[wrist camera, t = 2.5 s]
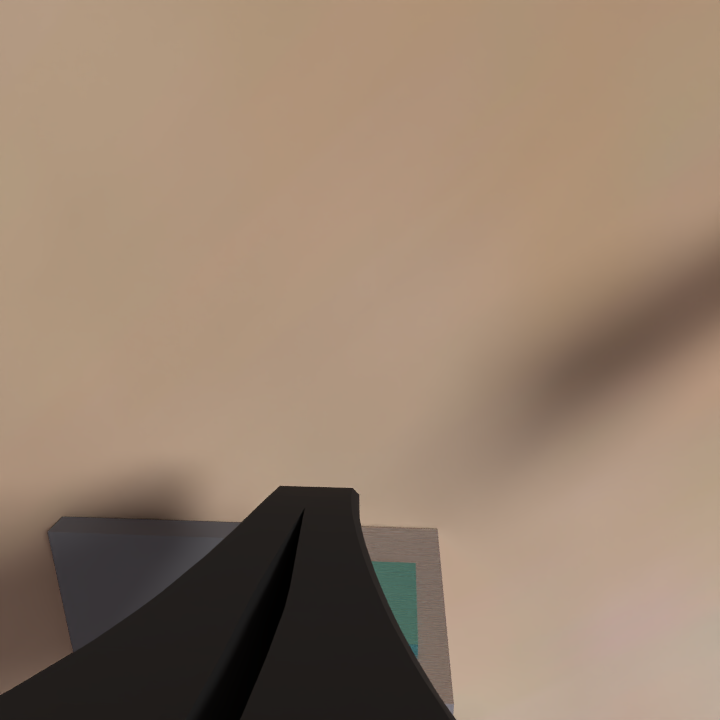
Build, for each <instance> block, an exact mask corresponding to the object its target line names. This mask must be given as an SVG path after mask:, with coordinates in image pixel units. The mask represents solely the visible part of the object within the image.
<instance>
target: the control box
mask: <svg viewBox="0 0 720 720" xmlns="http://www.w3.org/2000/svg"><path fill="white" fill-rule="evenodd" d="M361 528H362V532H363V536H364V540H365V543H366V547H367V550H368V553H369V555H370V558H371V561H372V564H373V567H374V570H375V573H376V575H377V578H378V580H379V583H380V585H381V588H382V590H383V592H384V595H385V597H386V599H387V601H388V604H389V606H390V608H391V610H392V612H393V614H394V617H395V619H396V621H397V623H398V625H399V627H400V629H401V631H402V633H403V634H404V636H405V638H406V640H407V642H408V644H409V645H410V647H411V649H412V651H413V653H414V654H415V656H416V658H417V660H418V662H419V663H420V665H421V667H422V668H423V670H424V671H425V673H426V675H427V676H428V678H429V680H430V681H431V683H432V685H433V686H434V688H435V690H436V691H437V693H438V694H439V696H440V697H441V699H442V700H443V702H444V703H445V705H446V706H447V707H448V709H449V710H450V712H451V713H452V715H453V709H454V702H453V691H452V680H451V669H450V659H449V648H448V637H447V627H446V616H445V605H444V594H443V584H442V573H441V562H440V551H439V541H438V530H437V529H419V528H389V527H361Z"/></svg>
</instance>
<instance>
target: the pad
mask: <svg viewBox="0 0 720 720" xmlns="http://www.w3.org/2000/svg"><path fill="white" fill-rule="evenodd" d="M239 524H240V523H238V522H208V521H178V520H148V519H118V518H88V517H62V518H61V519H60V520H59V521H58V522H57V523H56V524H55V525H54V526H53V527H52V528H51V529H50V530H49V531H48V536H49V541H50V546H51V550H52V555H53V560H54V564H55V569H56V574H57V578H58V583H59V588H60V592H61V597H62V602H63V606H64V611H65V616H66V620H67V625H68V630H69V634H70V639H71V644H72V648H73V652H75V651H77V650H78V649H80V648H82V647H83V646H85V645H86V644H88V643H89V642H91V641H93V640H94V639H96V638H97V637H99V636H100V635H102V634H103V633H105V632H106V631H107V630H109V629H110V628H112V627H113V626H115V625H116V624H118V623H119V622H121V621H122V620H124V619H125V618H127V617H128V616H129V615H131V614H132V613H134V612H135V611H136V610H138V609H139V608H141V607H142V606H143V605H145V604H146V603H147V602H149V601H150V600H151V599H153V598H154V597H155V596H157V595H158V594H159V593H161V592H162V591H163V590H164V589H166V588H167V587H168V586H169V585H170V584H172V583H173V582H174V581H175V580H177V579H178V578H179V577H180V576H181V575H183V574H184V573H185V572H186V571H187V570H189V569H190V568H191V567H192V566H194V565H195V564H196V563H197V562H198V561H200V560H201V559H202V558H203V557H204V556H205V555H207V554H208V553H209V552H210V551H211V550H212V549H213V548H214V547H215V546H216V545H218V544H219V543H220V542H221V541H222V540H223V539H224V538H225V537H226V536H227V535H229V534H230V533H231V532H232V531H233V530H234V529H235V528H236V527H237V526H238V525H239Z"/></svg>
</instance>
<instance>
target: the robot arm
mask: <svg viewBox="0 0 720 720" xmlns="http://www.w3.org/2000/svg"><path fill="white" fill-rule="evenodd" d="M0 720H456V719H455V717H454V716H453V715H452V713H451V712H450V710H449V709H448V707H447V706H446V705H445V703H444V702H443V700H442V699H441V697H440V696H439V694H438V693H437V691H436V690H435V688H434V686H433V685H432V683H431V681H430V680H429V678H428V676H427V675H426V673H425V671H424V670H423V668H422V667H421V665H420V663H419V662H418V660H417V658H416V656H415V654H414V653H413V651H412V649H411V647H410V645H409V644H408V642H407V640H406V638H405V636H404V634H403V633H402V631H401V629H400V627H399V625H398V623H397V621H396V619H395V617H394V614H393V612H392V610H391V608H390V606H389V604H388V601H387V599H386V597H385V595H384V592H383V590H382V588H381V585H380V583H379V580H378V578H377V575H376V573H375V570H374V567H373V564H372V561H371V558H370V555H369V553H368V550H367V547H366V543H365V540H364V536H363V532H362V528H361V524H360V518H359V494H358V493H357V492H356V491H355V490H354V489H353V488H332V487H297V486H279V487H278V488H277V489H276V490H275V491H274V492H273V493H272V494H271V495H269V496H268V497H267V498H266V499H265V500H264V501H263V502H262V503H261V504H260V505H259V506H258V507H257V508H256V509H255V510H254V511H253V512H252V513H251V514H250V515H249V516H248V517H246V518H245V519H244V520H243V521H242V522H241V523H240V524H239V525H238V526H237V527H236V528H235V529H234V530H233V531H232V532H231V533H230V534H229V535H227V536H226V537H225V538H224V539H223V540H222V541H221V542H220V543H219V544H218V545H216V546H215V547H214V548H213V549H212V550H211V551H210V552H209V553H208V554H207V555H205V556H204V557H203V558H202V559H201V560H200V561H198V562H197V563H196V564H195V565H194V566H192V567H191V568H190V569H189V570H187V571H186V572H185V573H184V574H183V575H181V576H180V577H179V578H178V579H177V580H175V581H174V582H173V583H172V584H170V585H169V586H168V587H167V588H166V589H164V590H163V591H162V592H161V593H159V594H158V595H157V596H155V597H154V598H153V599H151V600H150V601H149V602H147V603H146V604H145V605H143V606H142V607H141V608H139V609H138V610H136V611H135V612H134V613H132V614H131V615H129V616H128V617H127V618H125V619H124V620H122V621H121V622H119V623H118V624H116V625H115V626H113V627H112V628H110V629H109V630H107V631H106V632H105V633H103V634H102V635H100V636H99V637H97V638H96V639H94V640H93V641H91V642H89V643H88V644H86V645H85V646H83V647H82V648H80V649H78V650H77V651H75V652H73V653H71V654H70V655H68V656H66V657H65V658H63V659H61V660H60V661H58V662H56V663H55V664H53V665H51V666H50V667H48V668H46V669H45V670H43V671H41V672H39V673H38V674H36V675H34V676H33V677H31V678H29V679H28V680H26V681H24V682H23V683H21V684H19V685H18V686H16V687H14V688H13V689H11V690H9V691H7V692H5V693H4V694H2V695H0Z"/></svg>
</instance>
